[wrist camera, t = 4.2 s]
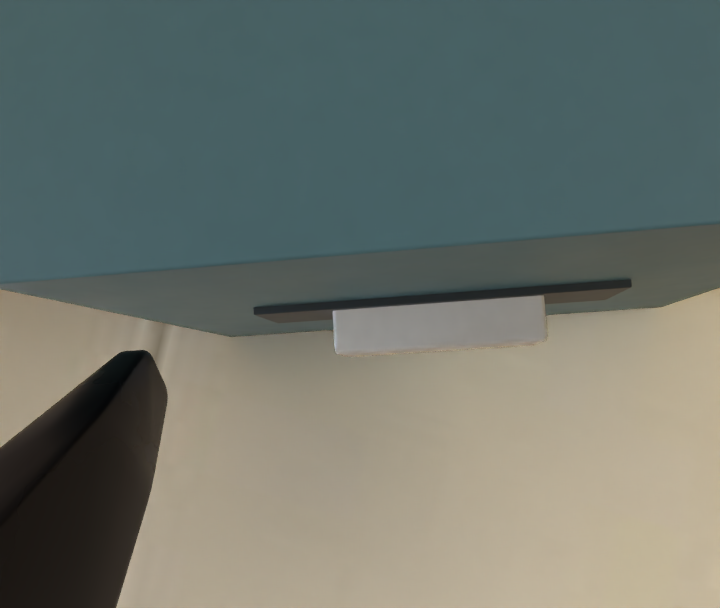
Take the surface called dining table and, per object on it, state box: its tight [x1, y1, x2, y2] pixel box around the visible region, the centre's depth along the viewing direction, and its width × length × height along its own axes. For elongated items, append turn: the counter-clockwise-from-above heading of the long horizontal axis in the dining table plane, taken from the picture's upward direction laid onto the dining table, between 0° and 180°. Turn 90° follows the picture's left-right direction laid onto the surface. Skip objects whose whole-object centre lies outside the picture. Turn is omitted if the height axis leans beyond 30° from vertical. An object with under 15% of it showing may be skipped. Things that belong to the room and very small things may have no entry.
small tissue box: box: [0, 0, 720, 357], centre depth 13 cm, size 7×12×10 cm, turn 93°
